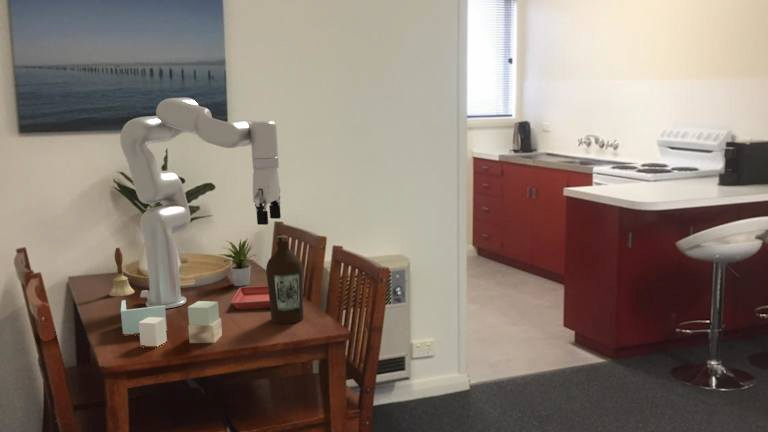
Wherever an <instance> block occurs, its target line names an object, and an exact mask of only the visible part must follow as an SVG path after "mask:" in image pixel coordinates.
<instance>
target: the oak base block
mask: <svg viewBox="0 0 768 432" xmlns="http://www.w3.org/2000/svg"><path fill="white" fill-rule="evenodd" d="M187 327H188V339H189V340H188V341H189V344H215V343H216V342H217V341H218V340H219V339H220V337H221V336H222V335H223V330H222V329H223V328H222V327H223V326H222V317H219V320H217V321H216V322H214V323H213V324H211V325H209V326H204V325H189V324H188V325H187Z"/></svg>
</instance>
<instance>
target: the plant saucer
mask: <svg viewBox="0 0 768 432" xmlns="http://www.w3.org/2000/svg"><path fill="white" fill-rule="evenodd" d="M230 303H231V305H232V306H233V307H235V308H236V310H249V309H250V310H251V309H252V310H254V309H256V310H257V309H270V299H269V291H268V285H262V286H260V285H259V286H241V287H239V288H238V289H237V291H236V294H235V295H234V297H233V298H232V299H231V302H230Z"/></svg>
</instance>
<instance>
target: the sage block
mask: <svg viewBox="0 0 768 432" xmlns="http://www.w3.org/2000/svg"><path fill="white" fill-rule="evenodd" d="M219 309H220V308H219V302H218V301H208V300H207V301H206V300H201V301H200V300H198V301H195V303H192V304H191V305H189V306H187V312H188V313H187V314H188V315H187V316H188V326H189V325H204V326H209V325H211V324H213V323H214V322H216V321H217V320H219V318H220V313H219V311H220V310H219Z"/></svg>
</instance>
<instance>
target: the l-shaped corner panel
mask: <svg viewBox="0 0 768 432" xmlns="http://www.w3.org/2000/svg"><path fill="white" fill-rule="evenodd" d="M126 302H127V301H126V299H123V300H121V305H120V316H121V328H122V335H123V334H134V333H139V322H140V321H142V320H144V319H146V318H148V317H158V318H165V326H166V331H167V332H168V326H167V315H166V309H165V306H156V307H147V306H146V307H141V308H140V307H139V308H131V309H130V308H129V309H127V304H126Z"/></svg>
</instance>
